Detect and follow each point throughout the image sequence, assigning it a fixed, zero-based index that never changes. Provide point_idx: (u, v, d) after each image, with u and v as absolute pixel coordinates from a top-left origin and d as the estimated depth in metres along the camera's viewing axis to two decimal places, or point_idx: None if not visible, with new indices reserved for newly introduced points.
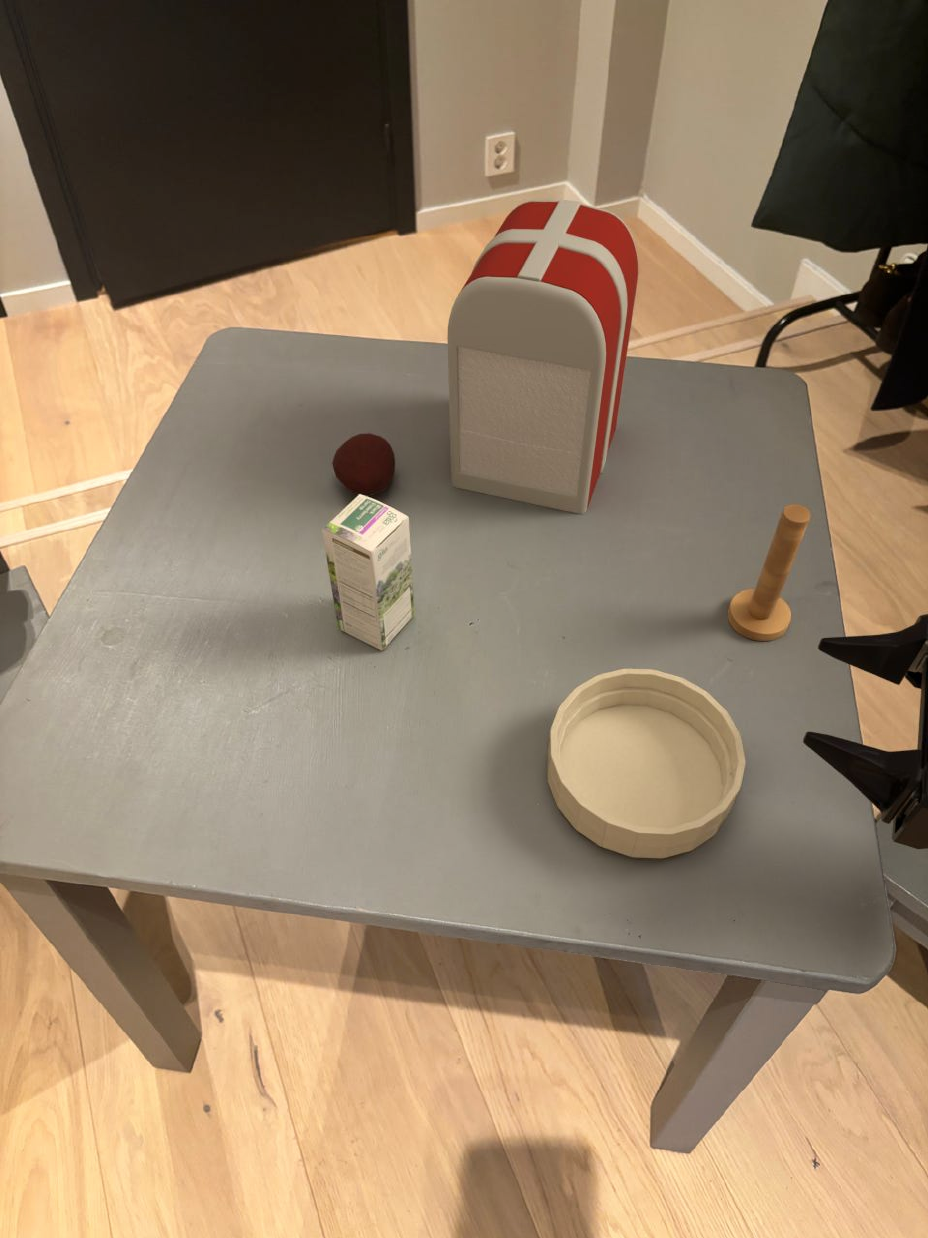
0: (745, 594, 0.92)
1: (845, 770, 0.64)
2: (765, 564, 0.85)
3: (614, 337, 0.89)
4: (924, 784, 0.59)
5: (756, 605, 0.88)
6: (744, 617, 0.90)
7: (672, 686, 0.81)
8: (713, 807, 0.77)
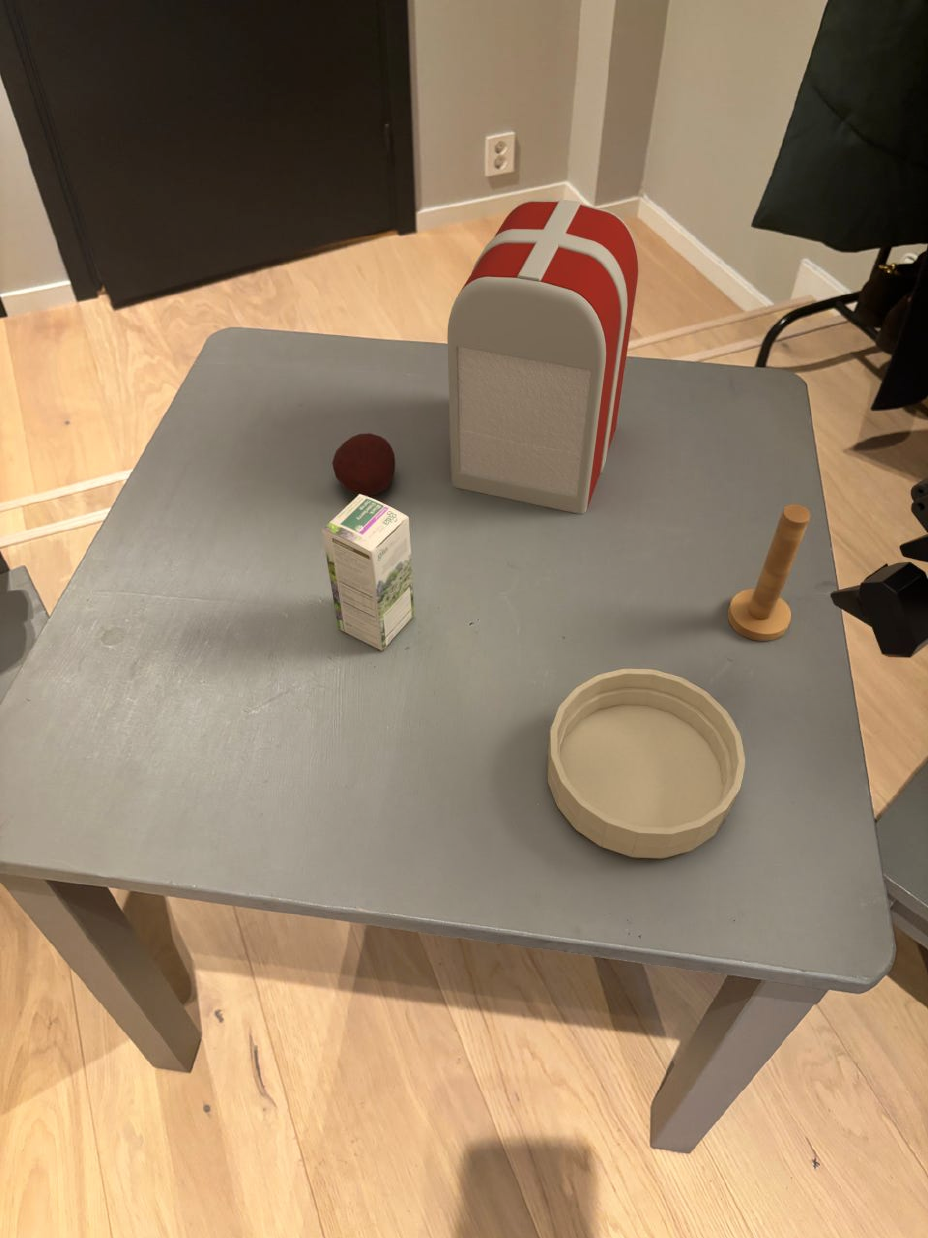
0: (745, 594, 0.92)
1: (861, 615, 0.71)
2: (765, 564, 0.85)
3: (614, 337, 0.89)
4: None
5: (756, 605, 0.88)
6: (744, 617, 0.90)
7: (672, 686, 0.81)
8: (713, 807, 0.77)
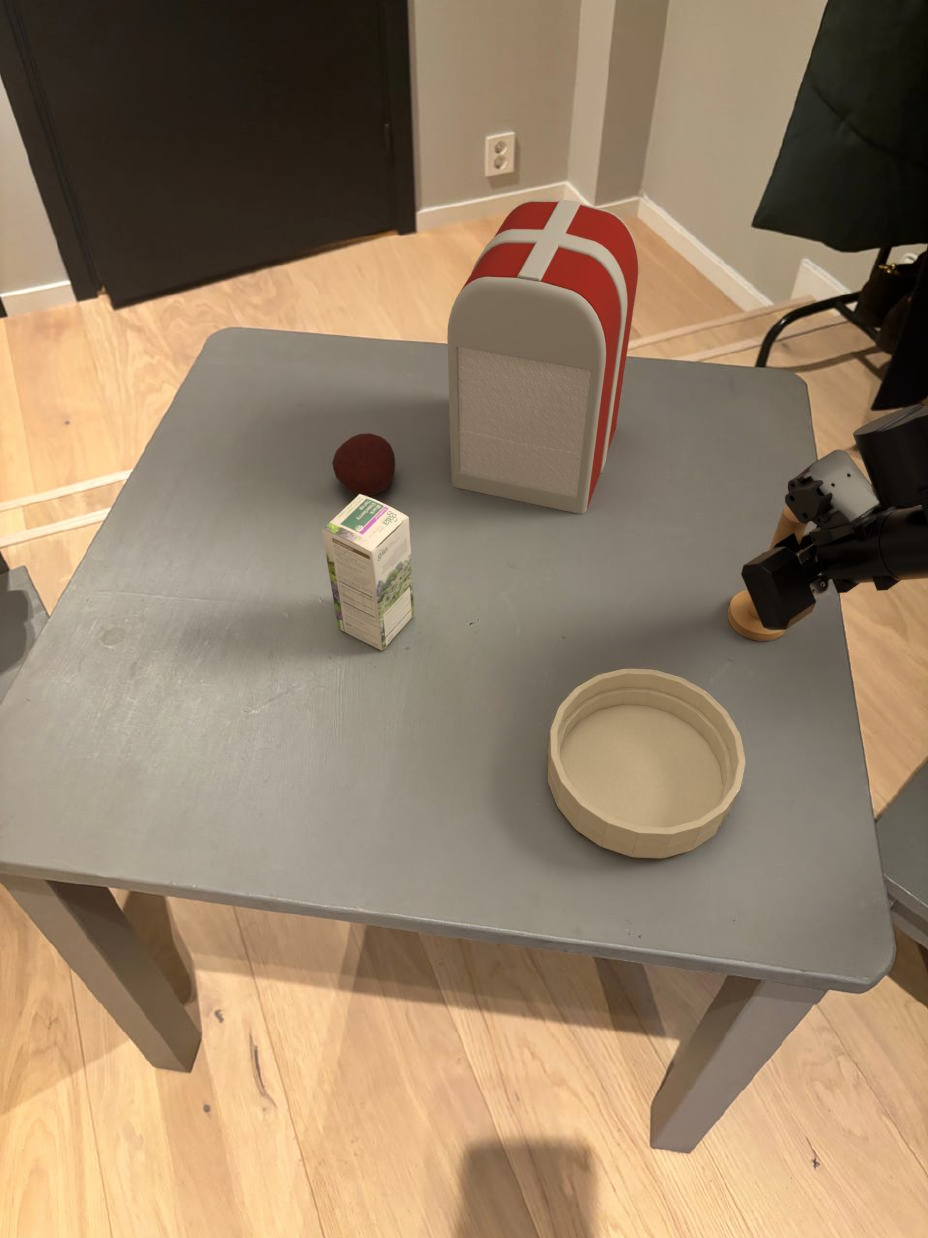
0: (745, 594, 0.92)
1: None
2: None
3: (614, 337, 0.89)
4: None
5: None
6: (744, 617, 0.90)
7: (672, 686, 0.81)
8: (713, 807, 0.77)
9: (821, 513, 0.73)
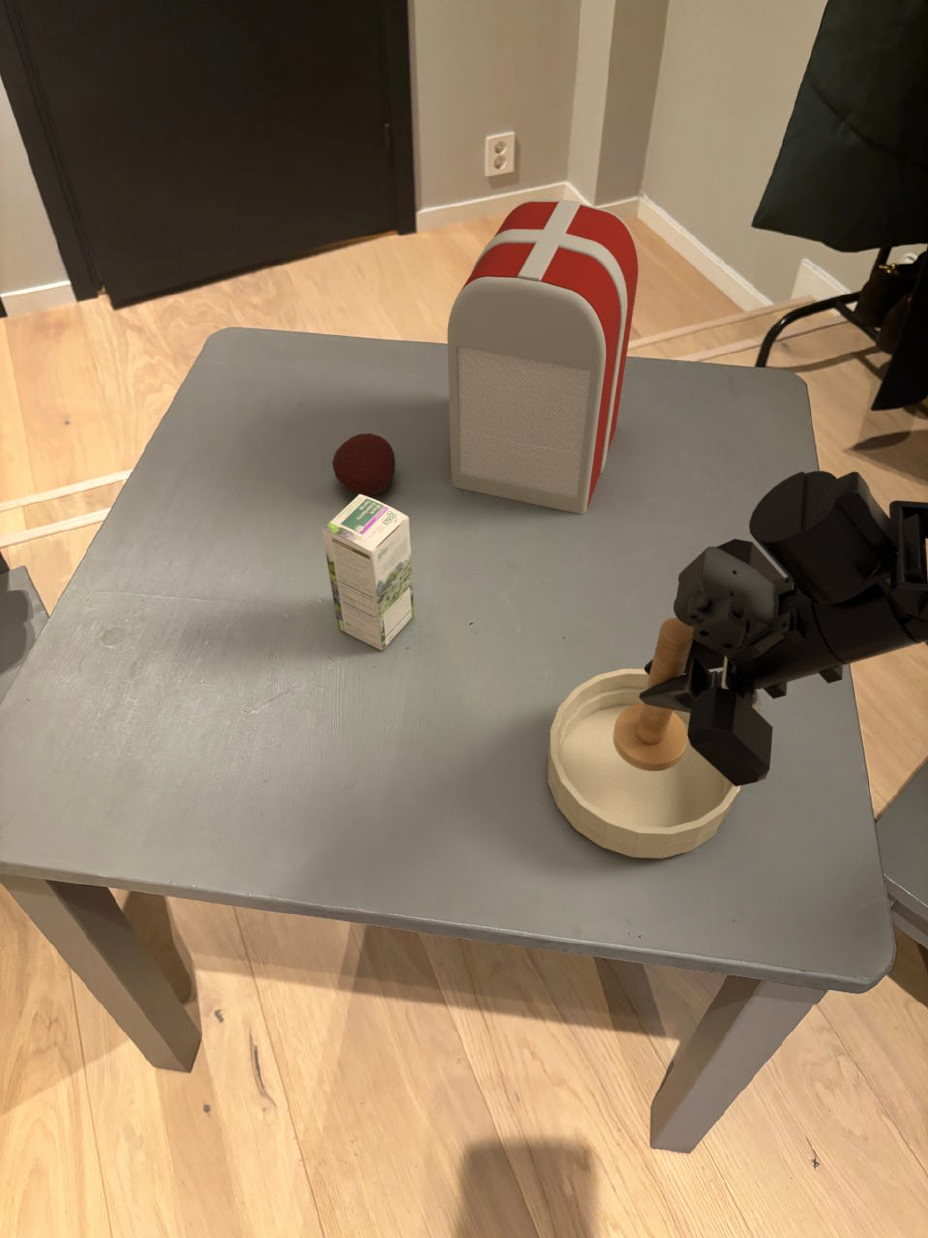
0: (622, 721, 0.75)
1: (684, 707, 0.66)
2: None
3: (614, 337, 0.89)
4: None
5: (651, 733, 0.72)
6: (643, 751, 0.73)
7: None
8: (713, 807, 0.77)
9: None
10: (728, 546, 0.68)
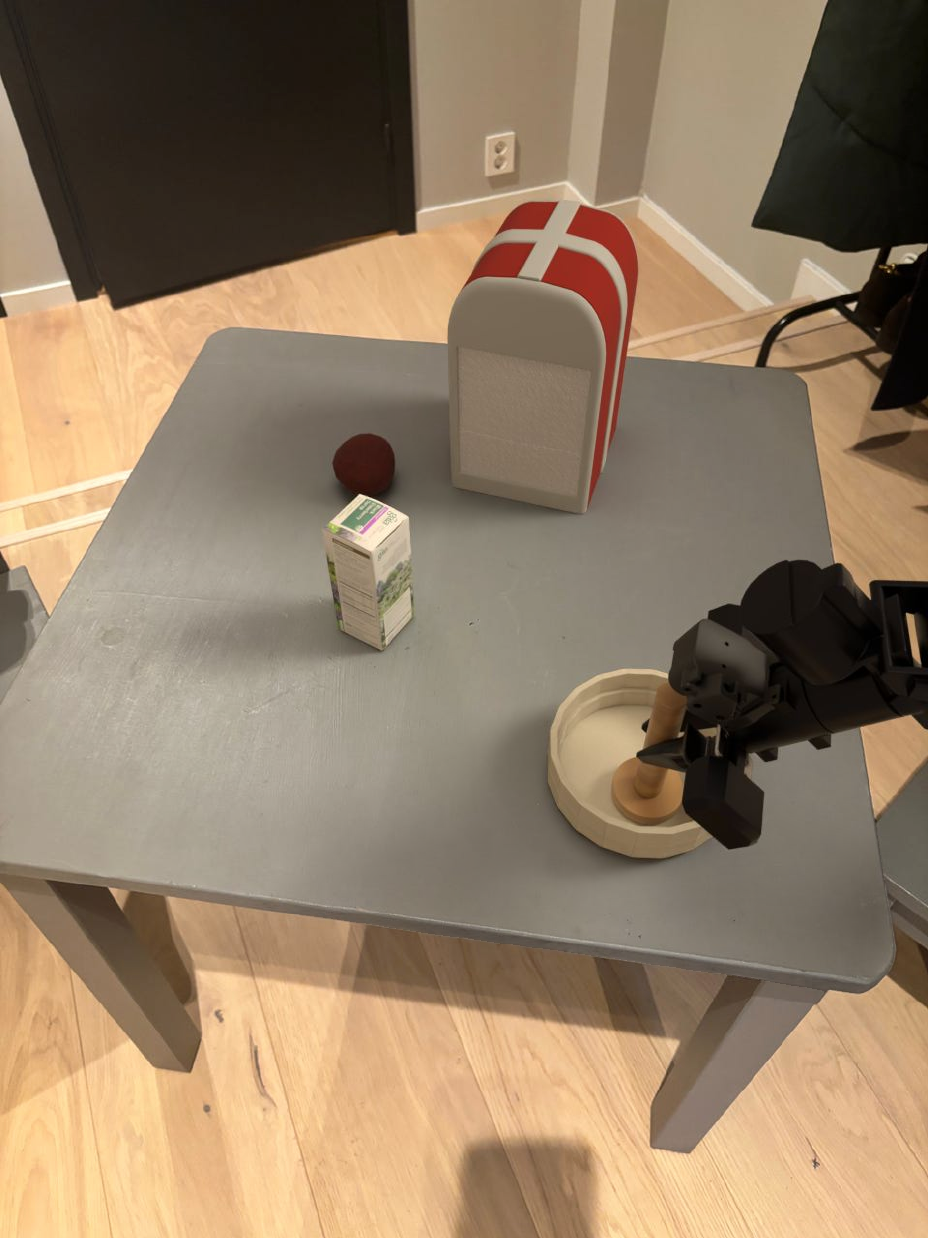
0: (621, 775, 0.77)
1: (679, 768, 0.69)
2: None
3: (614, 337, 0.89)
4: None
5: (649, 788, 0.75)
6: (640, 804, 0.75)
7: None
8: None
9: None
10: (721, 611, 0.70)
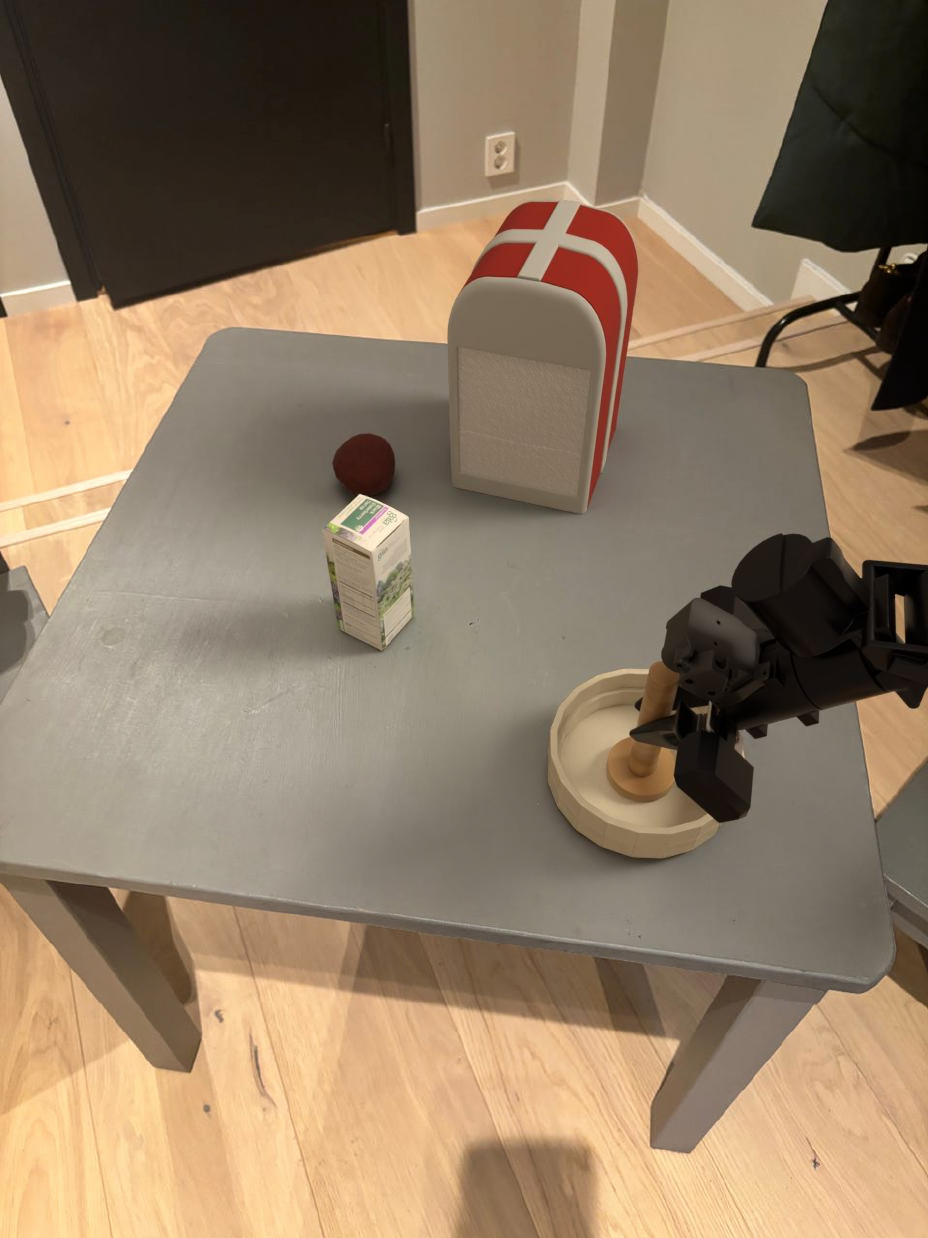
0: (615, 754, 0.79)
1: (671, 745, 0.70)
2: None
3: (614, 337, 0.89)
4: None
5: (642, 766, 0.76)
6: (634, 783, 0.77)
7: None
8: None
9: None
10: (713, 592, 0.72)
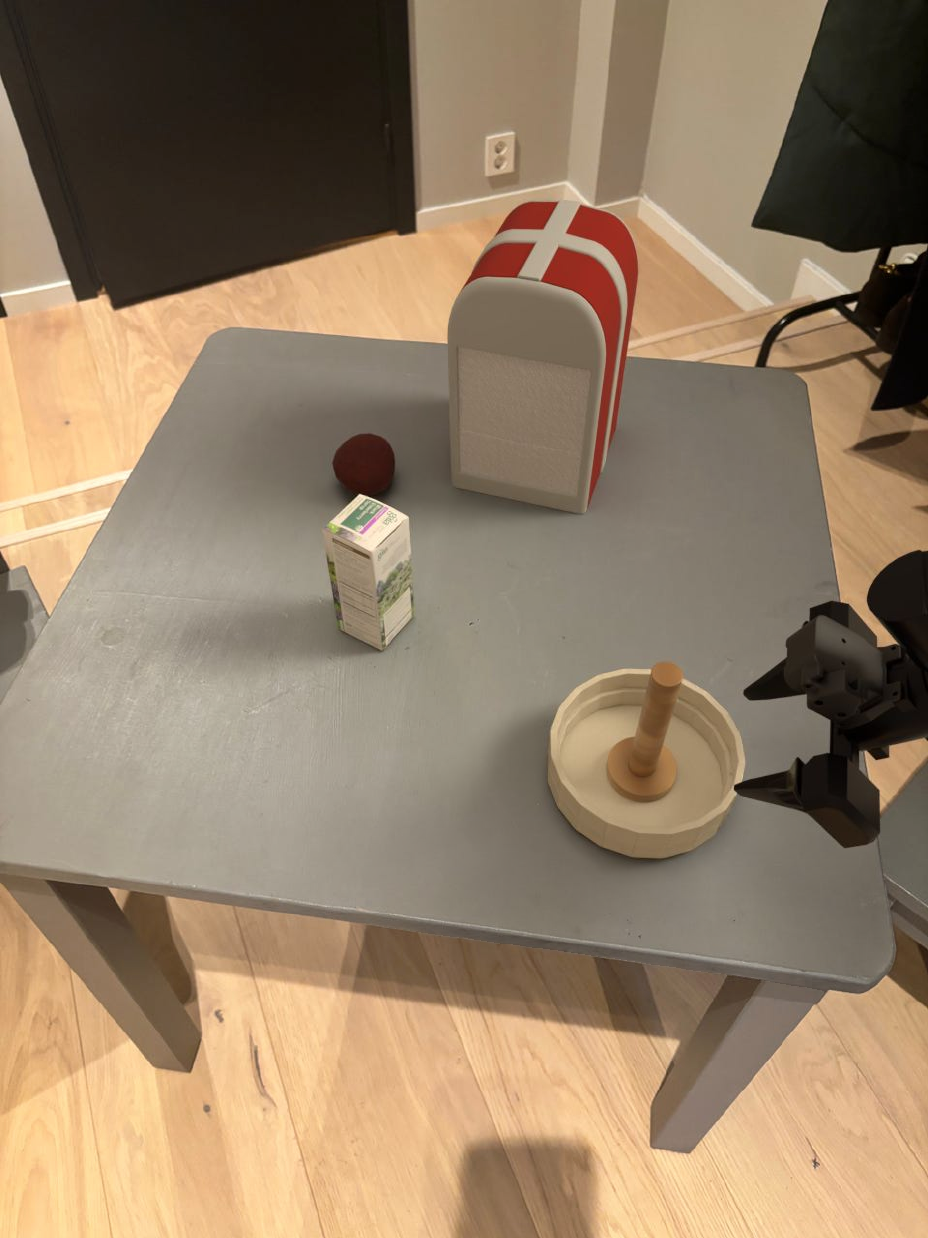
0: (615, 754, 0.79)
1: (781, 802, 0.66)
2: (644, 729, 0.72)
3: (614, 337, 0.89)
4: None
5: (643, 766, 0.76)
6: (634, 783, 0.77)
7: None
8: (713, 807, 0.77)
9: None
10: (825, 608, 0.70)
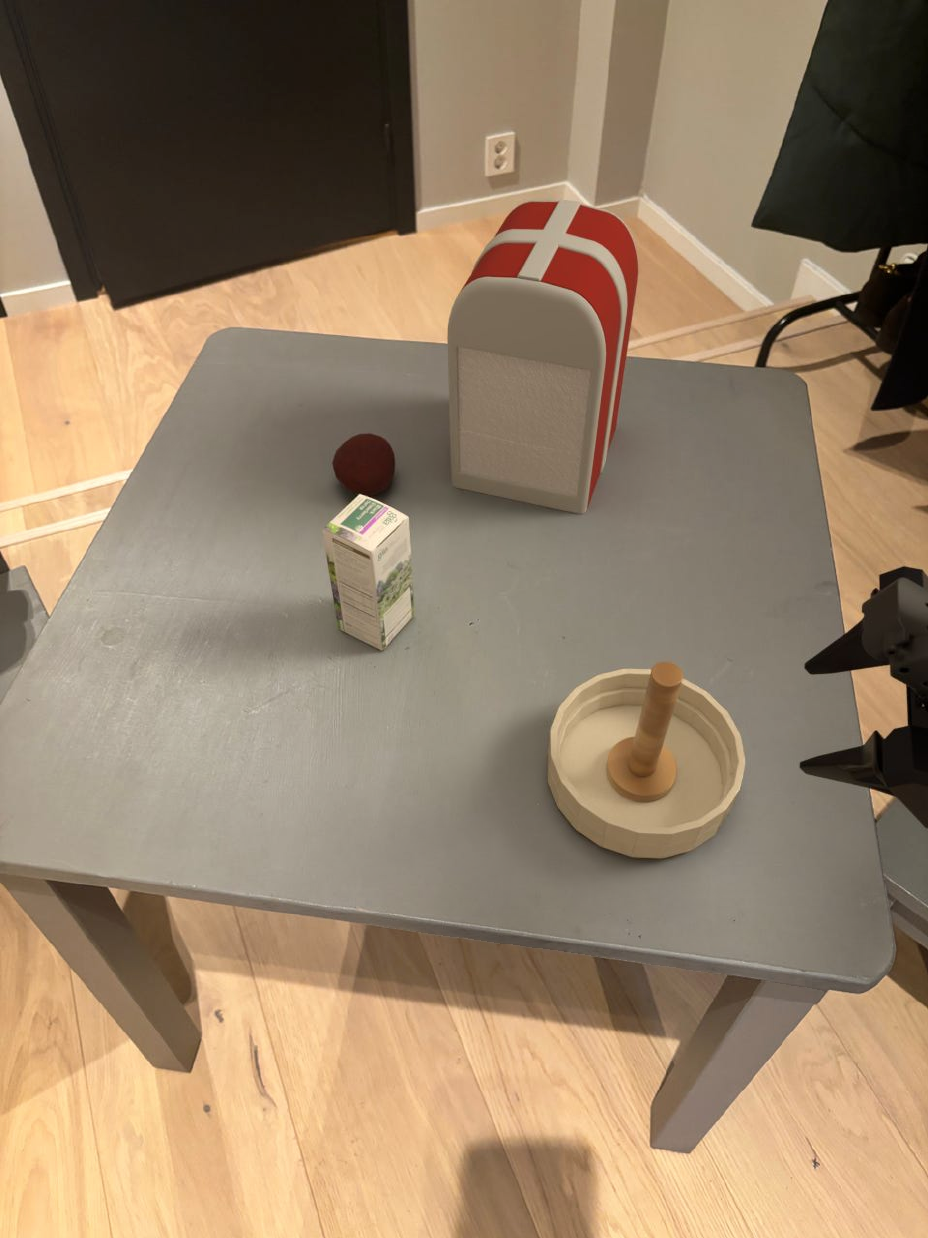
0: (615, 754, 0.79)
1: (853, 780, 0.62)
2: (644, 729, 0.72)
3: (614, 337, 0.89)
4: None
5: (643, 766, 0.76)
6: (634, 783, 0.77)
7: None
8: (713, 807, 0.77)
9: None
10: (896, 574, 0.65)
